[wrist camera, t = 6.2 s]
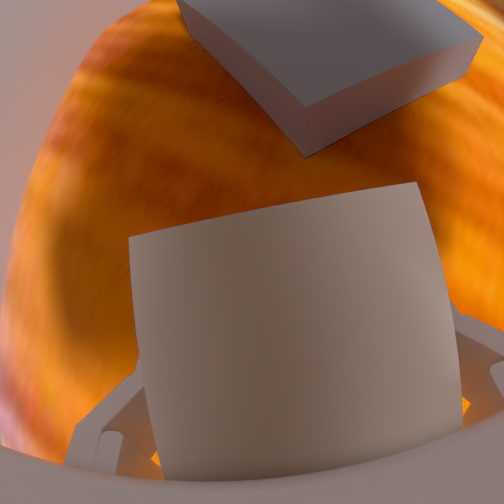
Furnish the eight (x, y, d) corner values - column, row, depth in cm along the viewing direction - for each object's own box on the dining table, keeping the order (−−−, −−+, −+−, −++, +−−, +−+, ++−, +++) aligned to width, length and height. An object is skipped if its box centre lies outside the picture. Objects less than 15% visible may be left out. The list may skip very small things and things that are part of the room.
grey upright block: (344, 273, 13) (416, 181, 5) (363, 385, 12) (462, 464, 3) (231, 295, 14) (128, 237, 5) (249, 405, 13) (174, 512, 4)
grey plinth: (335, -17, 19) (336, -52, 15) (464, 75, 15) (483, 36, 11) (189, 34, 19) (173, -6, 15) (305, 158, 15) (305, 107, 11)
